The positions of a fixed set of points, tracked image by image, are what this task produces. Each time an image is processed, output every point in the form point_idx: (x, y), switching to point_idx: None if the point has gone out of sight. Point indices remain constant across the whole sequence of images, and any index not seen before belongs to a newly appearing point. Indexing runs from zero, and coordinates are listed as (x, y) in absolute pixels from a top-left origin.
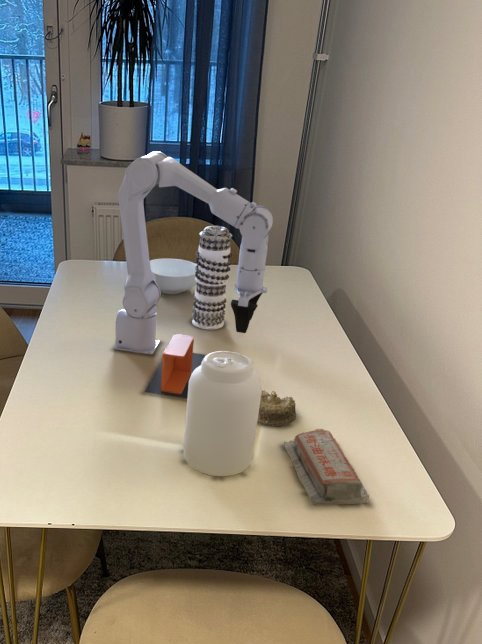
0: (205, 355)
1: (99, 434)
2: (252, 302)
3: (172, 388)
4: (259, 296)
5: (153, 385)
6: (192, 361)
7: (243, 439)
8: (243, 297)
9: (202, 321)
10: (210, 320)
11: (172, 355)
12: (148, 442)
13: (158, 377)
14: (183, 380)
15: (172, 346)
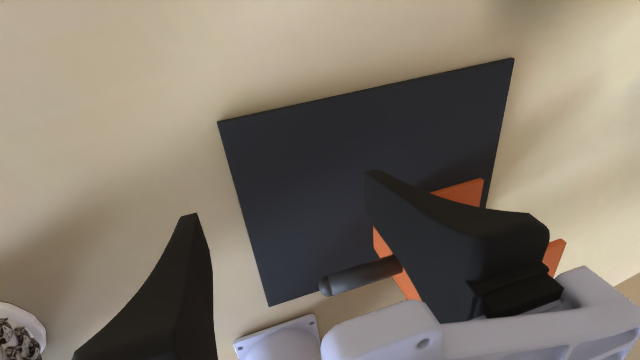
0: (252, 229)
1: (602, 216)
2: (194, 300)
3: (469, 203)
4: (182, 316)
5: None
6: (307, 236)
7: None
8: (632, 343)
9: (34, 352)
10: (6, 343)
11: (556, 265)
12: (632, 145)
13: None
14: None
15: None
